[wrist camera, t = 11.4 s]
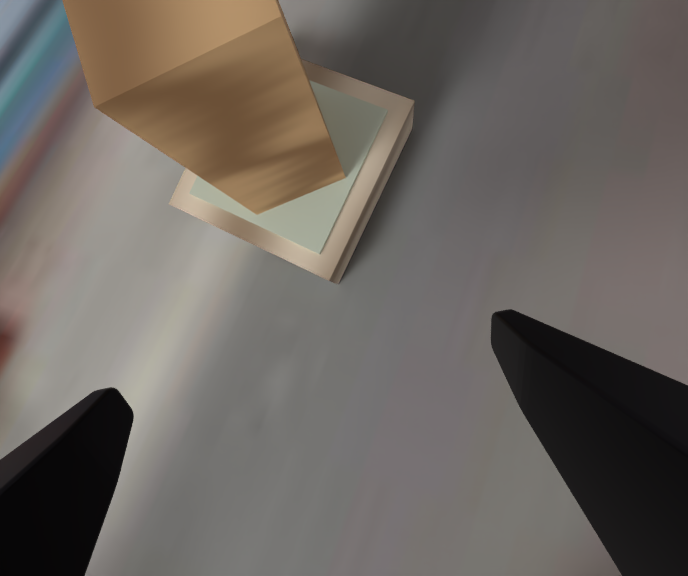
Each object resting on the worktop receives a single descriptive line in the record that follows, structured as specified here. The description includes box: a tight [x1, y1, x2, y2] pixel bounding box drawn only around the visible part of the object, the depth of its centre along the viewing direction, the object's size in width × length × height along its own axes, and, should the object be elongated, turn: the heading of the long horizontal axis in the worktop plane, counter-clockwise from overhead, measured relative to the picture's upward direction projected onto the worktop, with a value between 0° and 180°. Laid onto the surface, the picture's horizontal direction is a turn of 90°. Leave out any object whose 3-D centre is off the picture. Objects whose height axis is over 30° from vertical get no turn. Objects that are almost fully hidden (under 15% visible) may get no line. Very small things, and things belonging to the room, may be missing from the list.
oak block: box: [63, 0, 346, 215], centre depth 13 cm, size 5×5×10 cm
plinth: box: [169, 59, 414, 284], centre depth 20 cm, size 10×10×3 cm
